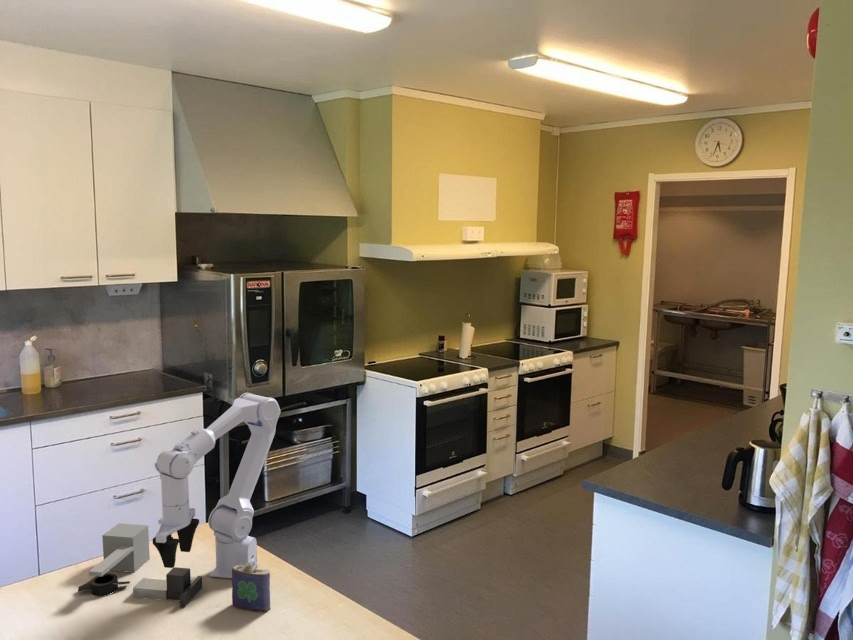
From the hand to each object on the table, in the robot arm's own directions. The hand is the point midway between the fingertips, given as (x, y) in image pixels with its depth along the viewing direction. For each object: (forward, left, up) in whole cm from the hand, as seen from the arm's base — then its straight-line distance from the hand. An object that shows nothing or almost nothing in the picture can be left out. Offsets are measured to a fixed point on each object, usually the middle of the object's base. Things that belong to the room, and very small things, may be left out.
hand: (177, 558), depth 157 cm
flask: (-18, +2, -9) cm, 20 cm away
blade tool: (+3, 0, -9) cm, 10 cm away
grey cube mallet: (+20, -6, -9) cm, 23 cm away
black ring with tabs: (+18, 0, -10) cm, 21 cm away
